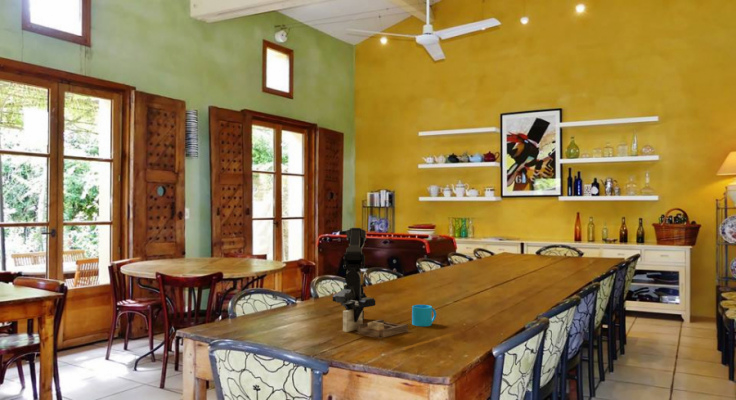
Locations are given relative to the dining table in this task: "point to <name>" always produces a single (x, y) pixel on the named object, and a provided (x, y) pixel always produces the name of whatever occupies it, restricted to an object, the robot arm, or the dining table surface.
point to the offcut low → (375, 330)
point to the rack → (388, 330)
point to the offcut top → (375, 325)
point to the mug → (422, 315)
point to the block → (351, 320)
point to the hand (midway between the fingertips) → (353, 321)
